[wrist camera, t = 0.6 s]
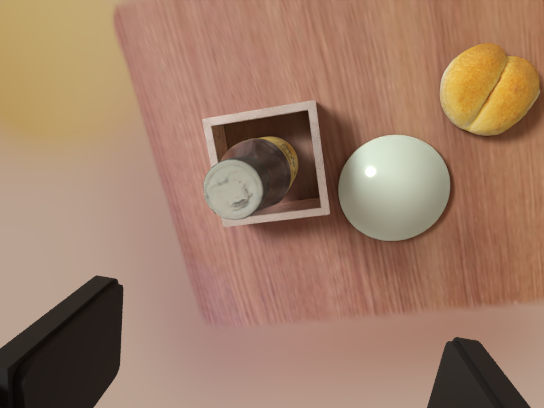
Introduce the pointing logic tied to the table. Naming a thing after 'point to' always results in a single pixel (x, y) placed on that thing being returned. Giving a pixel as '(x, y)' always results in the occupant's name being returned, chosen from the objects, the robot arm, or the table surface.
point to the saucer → (394, 187)
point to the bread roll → (488, 89)
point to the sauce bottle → (251, 177)
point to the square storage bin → (284, 209)
